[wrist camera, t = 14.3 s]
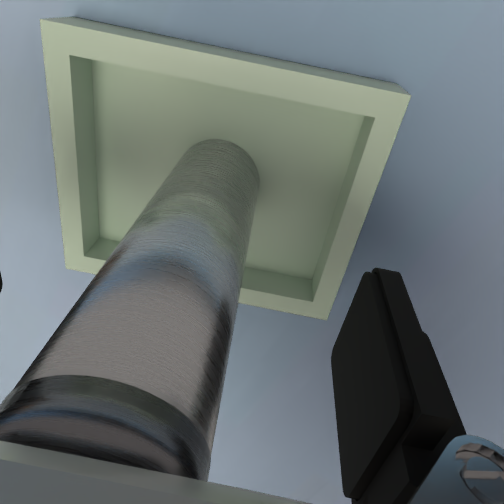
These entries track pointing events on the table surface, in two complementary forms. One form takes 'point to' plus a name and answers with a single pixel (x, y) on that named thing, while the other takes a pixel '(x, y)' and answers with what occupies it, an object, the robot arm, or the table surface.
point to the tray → (216, 127)
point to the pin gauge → (149, 329)
